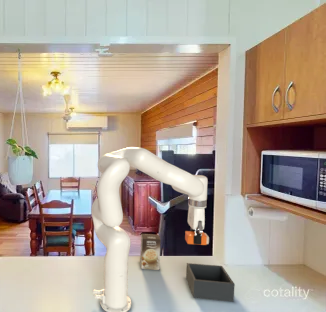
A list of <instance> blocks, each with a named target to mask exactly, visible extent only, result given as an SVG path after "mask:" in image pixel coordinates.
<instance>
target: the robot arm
mask: <svg viewBox="0 0 326 312" xmlns="http://www.w3.org/2000/svg"><path fill="white" fill-rule="evenodd" d="M97 168H98V171H99V172H100V174H101V175H100V177H99V179H98V181H97V184H96V195H97V198H96V199H94V200H93V202H92V205H91V209H90V210H91V217H92V222H93V227H94V232H95V235H96V237H97V239H98V240H99V241H100V242H101V243H102V244H103V246H104V247H105V249H106V252H105V255H104V258H103V289H99V290H98V289H93V291H92V295H93V296H94V298H95V300H99V305H100V307H101V308H102V309H103V310H104V311H105V312H128V311H129V310H130V309H131V308H132V300H131V298H130V296H129V295H128V293H129V292H128V290H129V289H128V288H129V287H128V286H129V285H128V284H129V255H130V250H131V244H132V242H131V237H130V235H129V234H128V233H127V231H126V230H125V229H124V228H122V227H120V225H121V224H122V223H123V220H124V213H123V207H122V201H121V195H120V188H121V185H122V182H123V181H124V180H125V179H126V177H127V176H128V175H129V173H130V169H131V168H132V169H133V168H134V169H136V170H139V171H140V172H142V173H144V174H145V175H147V176H149V177H150V178H153V179H154V180H156V181H158V182H160V183H163V184H165V185H170V186H171V188H172V189H173V190H174V191H176V192H178V193H181V194H183V195H187V196H188V201H187V202H188V203H187V204H188V211H187V224H188V226H190V229H189V231H193V232H195V235H194V244H193V245H197V244H201V240H202V233H203V232H204V231H203V230H205V224H206V223H205V221H206V218H205V217H206V216H205V215H206V214H205V213H206V212H205V209H207V200H208V183H209V181H208V177H207V176H205V175H202V174H201V175H200V174H192V173H190V172H188V171H186V170H184V169H182V168H180V167H178V166H176V165H174V164H172V163H169V162H168V161H166V160H164V159H163V158H161V157H159V156H157V154H154V152H152V151H150V150H148V149H146V148H144V147H136V146H129V147H126V148H122V149H118V150H115V151H111V152H109V153H105V154H103V155H102V156H100V158H99V159H98V161H97Z"/></svg>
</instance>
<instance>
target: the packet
mask: <svg viewBox="0 0 326 312" xmlns="http://www.w3.org/2000/svg"><path fill="white" fill-rule="evenodd" d="M184 233H185V235H184V240H185V242H186V243H187V245H195V244H194V235H195V232H193V231H190V230H185V231H184ZM209 243H210V237H209V235H208V234H207V233H206V232H204V231H203V233H202V240H201V244H196V245H200V246H207V245H209Z"/></svg>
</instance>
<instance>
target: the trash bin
mask: <svg viewBox="0 0 326 312" xmlns="http://www.w3.org/2000/svg"><path fill="white" fill-rule="evenodd" d="M185 269H186V271H185V280H186V282H187V285H188V287H189V290H190V292H191V295H192V298H193V299H202V300H213V301H219V302H220V301H221V302H231V303H234V302H235V300H234V299H235V286H236V285H235V282H234V281H233V279H232V278H231V277H230V275H229V273H228V272H227V271H226V269H225V268H224V266H222V265H217V264H216V265H215V264H202V263H188V262H186V268H185Z"/></svg>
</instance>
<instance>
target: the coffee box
mask: <svg viewBox="0 0 326 312" xmlns="http://www.w3.org/2000/svg"><path fill="white" fill-rule="evenodd" d="M161 241H162V240H161V237H160V235H159V234H151V233H140V253H139V254H140V257H139V264H140V265H139V266H140V268H141V270H155V271H159V270H160V264H161V263H160V261H161Z"/></svg>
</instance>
